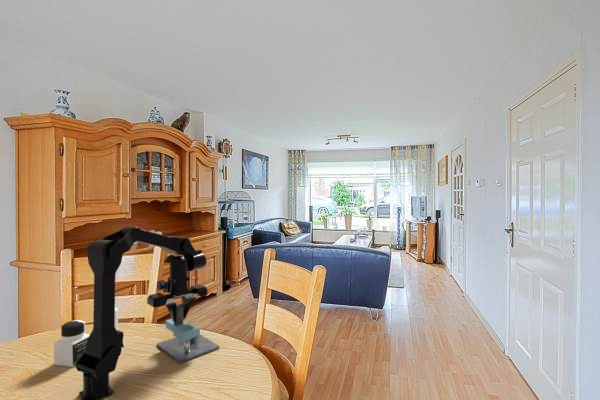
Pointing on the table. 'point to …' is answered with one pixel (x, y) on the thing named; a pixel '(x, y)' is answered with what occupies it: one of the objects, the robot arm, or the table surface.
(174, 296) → the robot arm
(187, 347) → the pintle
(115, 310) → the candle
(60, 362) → the medicine bottle
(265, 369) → the table surface
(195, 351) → the base plate
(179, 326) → the link
